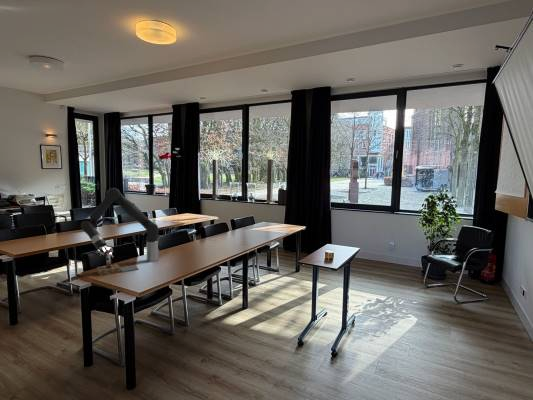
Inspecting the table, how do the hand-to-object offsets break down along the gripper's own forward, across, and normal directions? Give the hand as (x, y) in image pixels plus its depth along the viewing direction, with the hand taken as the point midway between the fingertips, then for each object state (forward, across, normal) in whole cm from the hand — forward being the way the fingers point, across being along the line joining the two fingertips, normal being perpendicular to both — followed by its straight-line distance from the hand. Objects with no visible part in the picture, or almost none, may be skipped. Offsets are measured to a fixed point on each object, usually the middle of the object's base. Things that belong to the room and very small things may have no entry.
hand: (110, 259), depth 238 cm
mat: (+11, +11, +3) cm, 16 cm away
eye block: (+6, 0, +9) cm, 10 cm away
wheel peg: (+3, 0, +6) cm, 6 cm away
